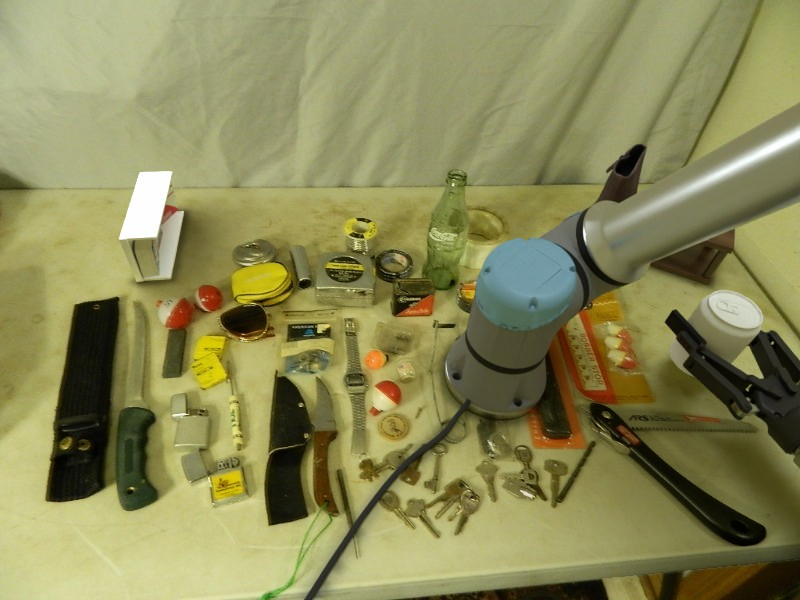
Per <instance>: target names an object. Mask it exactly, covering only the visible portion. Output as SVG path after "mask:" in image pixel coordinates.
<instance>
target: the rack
mask: <svg viewBox="0 0 800 600" xmlns="http://www.w3.org/2000/svg"><path fill="white" fill-rule="evenodd" d="M735 236H736V228H735V229H733V230H730V231H728V232H725V233H723V234H720V235H718V236H715V237H713V238H710V239H708V240H706V241H703V242H701V243H698V244H696V245H693V246H691V247H688V248H686V249H683V250H681V251H679V252H676V253H674V254H671V255H669V256H666V257H664V258H661V259H659V260H656V261H654V262H652V263H650V267H654V268H657V269H660V270H662V271H666V272H668V273H671V274H674V275H677V276H680V277H683V278H686V279H689V280H692V281H695V282H698V283H701V284H704V285H708V286H709V285H711V283H712V282H713V276H714V274H715V273H716V271H717V270H718V268H719V267H720V266H721V264H722V263H723V262H724V260H725V259H726V257H727V256H728V255H731V254H733V251H734V250H735V239H736V237H735ZM715 250H717V252H716V253H715Z"/></svg>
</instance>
